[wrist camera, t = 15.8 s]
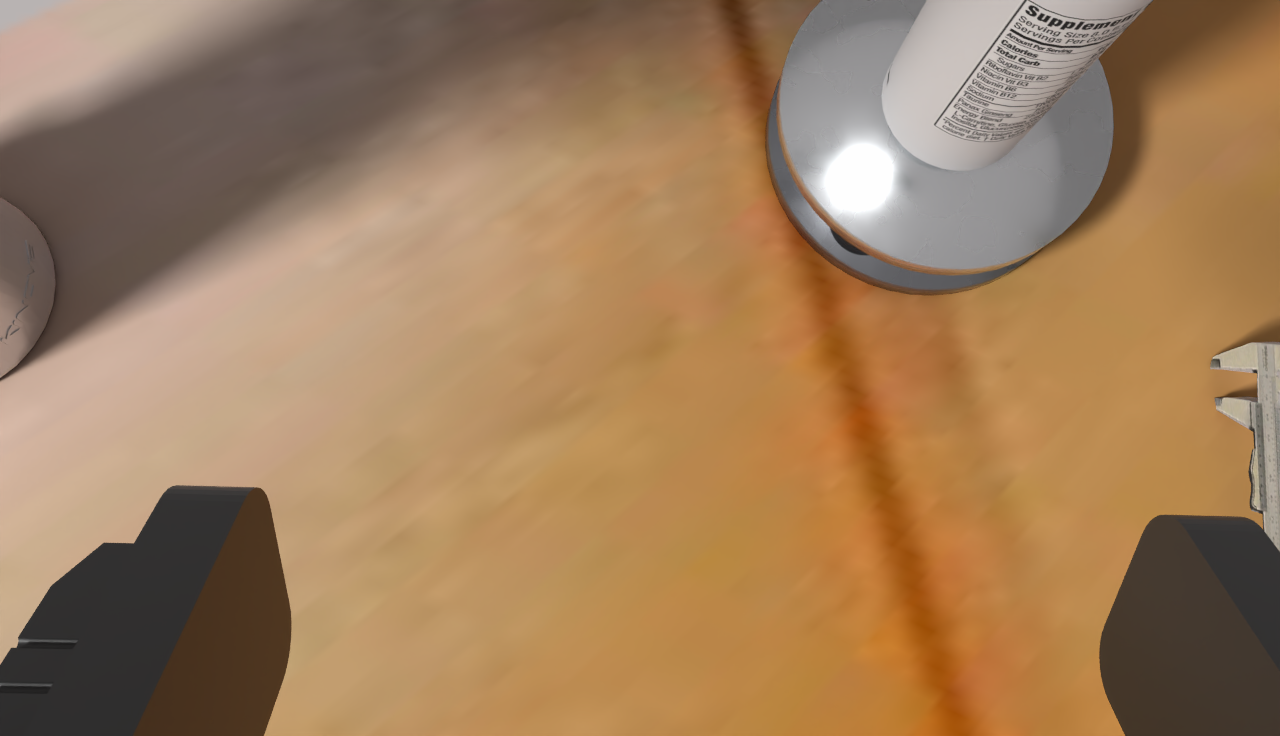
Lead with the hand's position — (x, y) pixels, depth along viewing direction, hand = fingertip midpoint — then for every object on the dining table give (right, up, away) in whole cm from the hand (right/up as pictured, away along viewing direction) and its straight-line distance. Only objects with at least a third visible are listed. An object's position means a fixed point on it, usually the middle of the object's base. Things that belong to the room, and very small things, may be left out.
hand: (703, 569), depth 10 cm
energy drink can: (+12, +12, +34) cm, 38 cm away
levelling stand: (+12, +12, +37) cm, 41 cm away
